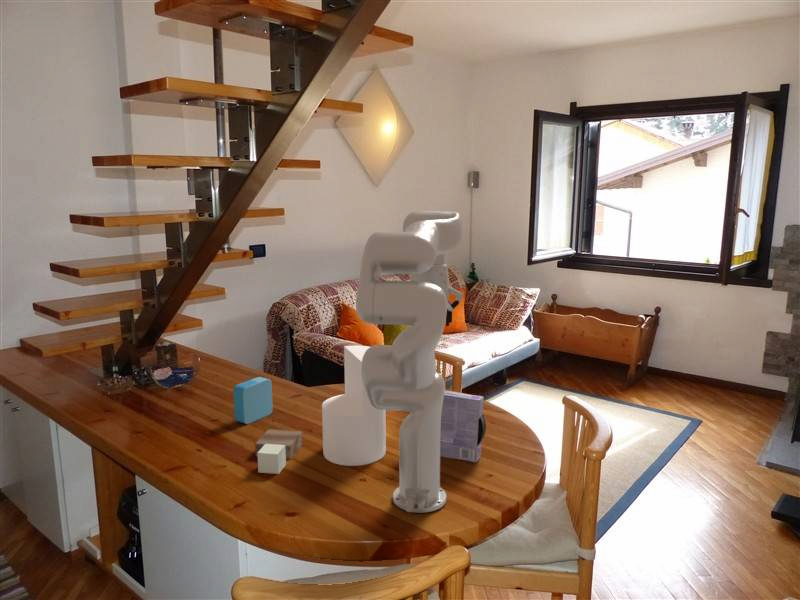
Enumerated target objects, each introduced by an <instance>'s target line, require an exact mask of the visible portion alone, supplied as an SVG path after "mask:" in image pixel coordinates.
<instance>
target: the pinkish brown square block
mask: <svg viewBox="0 0 800 600" xmlns="http://www.w3.org/2000/svg"><path fill="white" fill-rule="evenodd" d="M303 440H304V439H303V431H301V430H287V429H286V430H285V429H271V428H270V429H267V430H266V432H264V434H263V435H262V436H261V437H260V438H259V439H258V440H257V441H256V442H255V443H254V445H255V446H254V447H255V451H254V452H255V457H258V455H257V453H258V452H259V450H260V449H261V448H262V447H263V446H264V445H265V444H276V445H285V450H286V460H289V459H290V460H291V459H292V458H293V457H294V455H295V454H296V453H297V452H298V450H299V449H300V448H301V446H302V445H303Z"/></svg>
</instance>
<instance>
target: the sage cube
mask: <svg viewBox="0 0 800 600" xmlns="http://www.w3.org/2000/svg"><path fill="white" fill-rule="evenodd" d="M257 455H258V456H257V470H258V471H257V473H262V474H276V475H280V473H281V471H282V470H283V469H284V468H285V466H286V465H287V459H286V450H285V445H276V444H265V445H264V446H263V447H262V448H261V449H260V450H259V452H258V453H257Z"/></svg>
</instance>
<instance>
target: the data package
mask: <svg viewBox="0 0 800 600" xmlns="http://www.w3.org/2000/svg"><path fill="white" fill-rule="evenodd" d="M272 384H273V383H272V380H271V379H269V378H266V377H263V376H262V377H261V376H257V377H254V378H251V379H249V380H247V381H246V380H245V381H243V382H241V383H238V384H236V385H234V387H233V404H234V405H233V408H234V419H235V421H236V422H237V423H238V422H239V423H242V424H246V425H250V424H252V423H253V422H256V421H259V420H261V419H264V418H266V417H268V416H270V415H271V414H272V413H273V410H274V409H273V406H274V405H273V389H272V388H273V387H272Z"/></svg>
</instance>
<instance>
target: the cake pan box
mask: <svg viewBox="0 0 800 600" xmlns="http://www.w3.org/2000/svg"><path fill="white" fill-rule="evenodd" d="M484 400H485V398H484V396H482V395H476V394H474V395H473V394H468V393H461V392H457V391H450V390H449V391H448V390H445V394H444V400H443V407H442V415H441V438H440V458H445V459H446V458H447V459H454V460H461V461H465V462H471V463H477V462H479V460H480V458H481V456H482V455H481V454H482V443H483V442H482V441H483V439H484V438H485V435H486V429H487V423H486V418H485V415H484V403H485V401H484Z"/></svg>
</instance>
